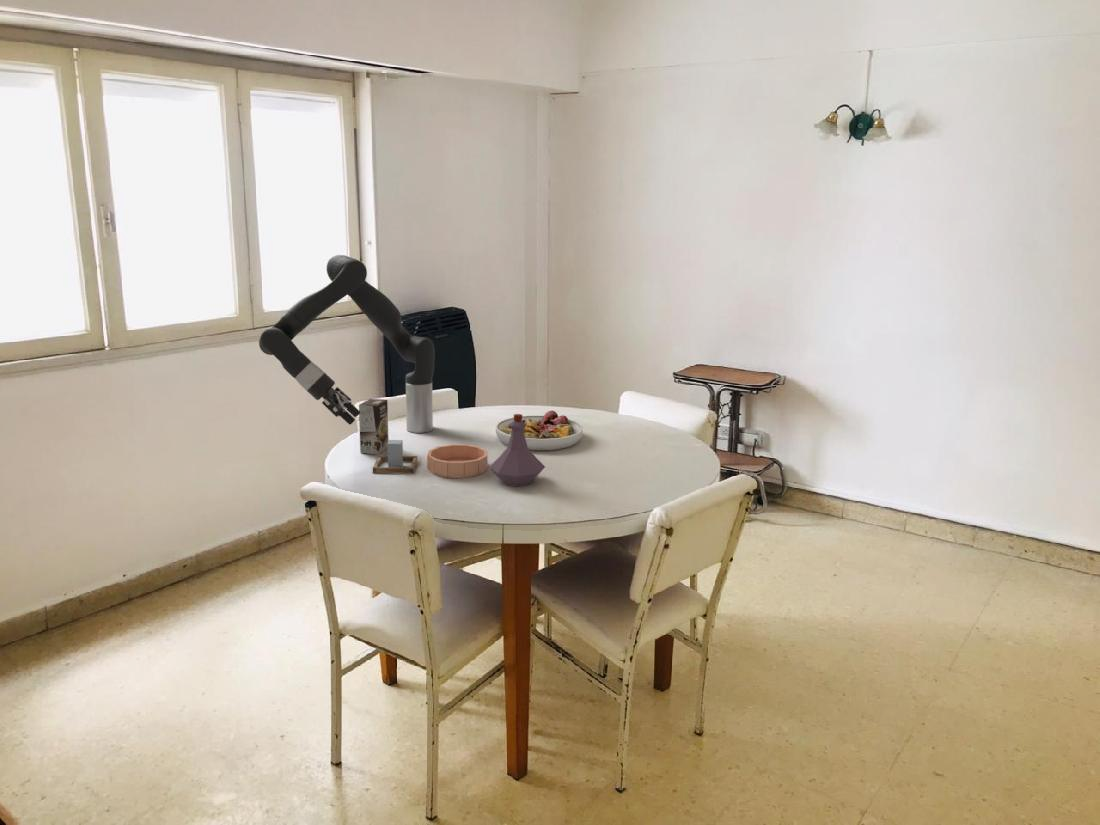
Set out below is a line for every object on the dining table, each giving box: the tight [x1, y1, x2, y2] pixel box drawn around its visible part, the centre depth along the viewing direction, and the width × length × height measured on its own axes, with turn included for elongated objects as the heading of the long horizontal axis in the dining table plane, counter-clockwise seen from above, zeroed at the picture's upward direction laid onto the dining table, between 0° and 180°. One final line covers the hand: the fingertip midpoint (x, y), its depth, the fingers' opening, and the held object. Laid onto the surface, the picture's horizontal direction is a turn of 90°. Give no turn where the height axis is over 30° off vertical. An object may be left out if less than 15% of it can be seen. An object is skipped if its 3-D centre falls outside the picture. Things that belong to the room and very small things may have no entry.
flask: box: [488, 413, 546, 487], centre depth 233 cm, size 16×16×20 cm
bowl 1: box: [426, 443, 489, 479], centre depth 244 cm, size 18×18×5 cm
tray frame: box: [372, 455, 419, 474], centre depth 245 cm, size 12×12×2 cm
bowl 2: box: [495, 410, 584, 452], centre depth 275 cm, size 30×30×8 cm
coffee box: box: [358, 398, 390, 455], centre depth 259 cm, size 9×6×16 cm
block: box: [387, 439, 404, 467], centre depth 244 cm, size 4×4×8 cm
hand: (355, 418), depth 240 cm, fingers open, 8 cm apart
